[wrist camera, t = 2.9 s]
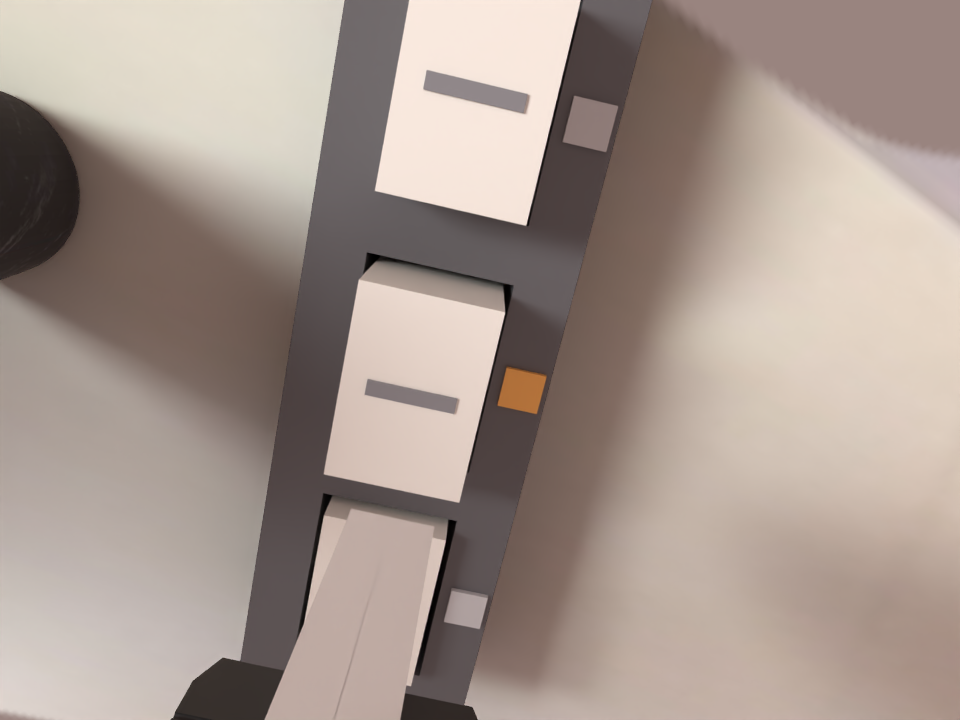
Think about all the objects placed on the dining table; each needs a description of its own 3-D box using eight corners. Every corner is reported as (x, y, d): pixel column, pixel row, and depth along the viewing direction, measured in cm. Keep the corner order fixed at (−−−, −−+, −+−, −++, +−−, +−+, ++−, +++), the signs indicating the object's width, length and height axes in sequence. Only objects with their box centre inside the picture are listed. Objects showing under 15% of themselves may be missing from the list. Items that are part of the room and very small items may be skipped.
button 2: (351, 417, 28) (322, 475, 23) (382, 254, 26) (358, 280, 22) (464, 441, 29) (459, 503, 24) (502, 281, 27) (505, 313, 22)
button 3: (396, 181, 26) (374, 190, 21) (433, -18, 24) (419, -58, 19) (519, 209, 26) (526, 226, 21) (565, 15, 24) (584, -16, 19)
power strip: (271, 615, 34) (233, 696, 29) (423, -289, 24) (405, -399, 19) (460, 653, 35) (455, 739, 30) (686, -219, 25) (736, -309, 20)
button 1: (325, 586, 33) (295, 665, 28) (349, 456, 31) (323, 516, 26) (422, 606, 33) (410, 687, 28) (452, 478, 31) (445, 541, 26)
